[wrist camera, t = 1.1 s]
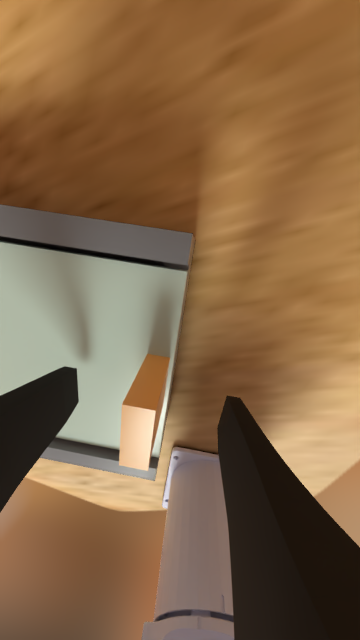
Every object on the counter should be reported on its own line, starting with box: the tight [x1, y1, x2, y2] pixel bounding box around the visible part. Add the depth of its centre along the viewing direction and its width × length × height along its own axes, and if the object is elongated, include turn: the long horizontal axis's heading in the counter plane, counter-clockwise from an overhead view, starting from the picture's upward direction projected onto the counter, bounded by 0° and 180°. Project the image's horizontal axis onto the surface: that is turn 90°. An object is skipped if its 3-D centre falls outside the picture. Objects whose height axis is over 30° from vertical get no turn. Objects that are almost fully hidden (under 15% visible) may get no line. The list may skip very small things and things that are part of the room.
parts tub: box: [0, 205, 195, 481], centre depth 13 cm, size 15×17×5 cm
